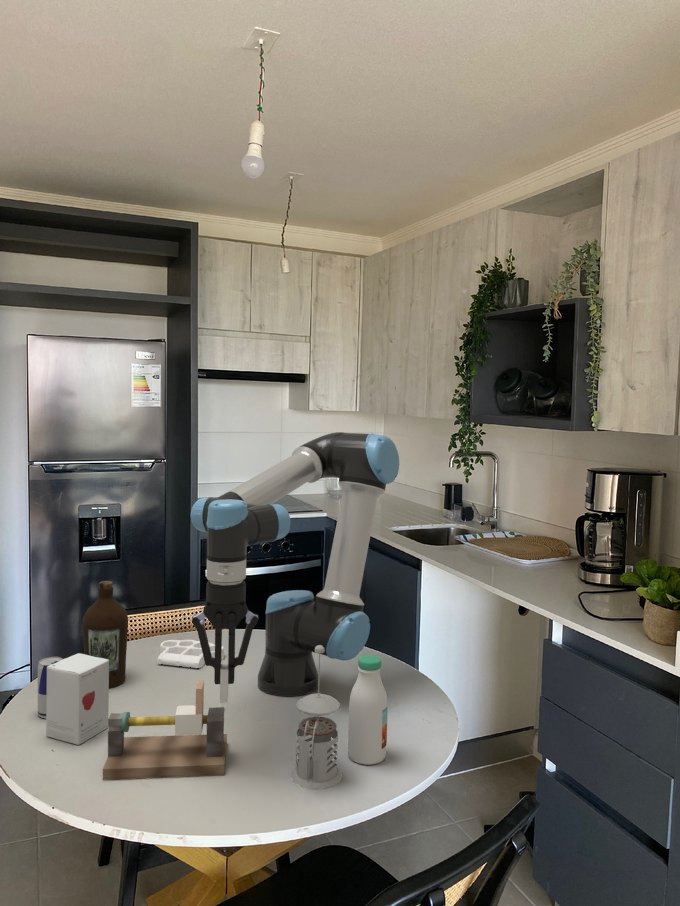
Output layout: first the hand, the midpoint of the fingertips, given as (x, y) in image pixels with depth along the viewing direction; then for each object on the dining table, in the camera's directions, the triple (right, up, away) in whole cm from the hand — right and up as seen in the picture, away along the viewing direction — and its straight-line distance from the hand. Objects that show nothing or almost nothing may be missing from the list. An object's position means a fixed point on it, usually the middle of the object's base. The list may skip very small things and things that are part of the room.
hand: (224, 699), depth 133 cm
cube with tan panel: (-7, -6, 0) cm, 9 cm away
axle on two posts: (-11, -12, 0) cm, 16 cm away
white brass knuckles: (-19, -9, +53) cm, 57 cm away
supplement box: (-32, -11, +10) cm, 35 cm away
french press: (+18, -13, -5) cm, 23 cm away
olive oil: (-36, -9, +36) cm, 51 cm away
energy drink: (-41, -10, +18) cm, 46 cm away
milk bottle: (+28, -13, +4) cm, 31 cm away
